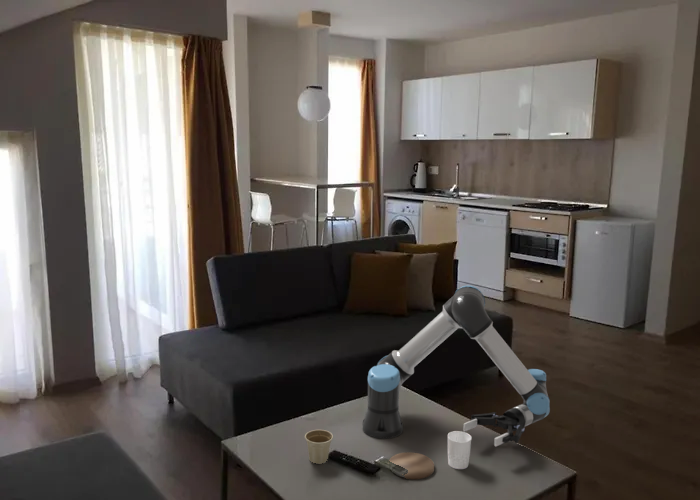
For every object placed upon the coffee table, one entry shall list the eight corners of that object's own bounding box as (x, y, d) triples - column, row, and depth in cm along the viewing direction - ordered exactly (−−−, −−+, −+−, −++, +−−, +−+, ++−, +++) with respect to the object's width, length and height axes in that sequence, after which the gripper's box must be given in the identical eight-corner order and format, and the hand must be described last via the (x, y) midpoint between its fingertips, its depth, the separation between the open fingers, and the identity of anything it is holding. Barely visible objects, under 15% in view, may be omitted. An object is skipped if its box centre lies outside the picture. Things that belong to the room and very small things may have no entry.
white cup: (470, 471, 197) (471, 443, 195) (445, 468, 198) (447, 440, 197) (470, 459, 204) (471, 432, 203) (446, 457, 206) (448, 429, 204)
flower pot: (337, 456, 205) (337, 433, 203) (324, 469, 197) (325, 445, 195) (313, 450, 209) (313, 427, 207) (299, 463, 200) (299, 439, 199)
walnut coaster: (379, 464, 200) (379, 461, 200) (411, 451, 209) (412, 447, 209) (410, 484, 189) (410, 481, 188) (443, 469, 198) (443, 466, 198)
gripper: (546, 440, 210) (508, 459, 197) (489, 415, 229) (451, 431, 216) (547, 420, 209) (509, 438, 196) (490, 397, 228) (452, 411, 215)
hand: (479, 434), depth 206 cm, fingers open, 13 cm apart
